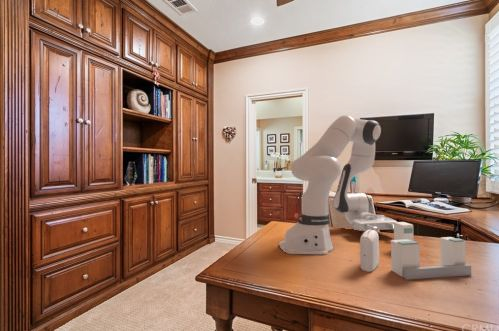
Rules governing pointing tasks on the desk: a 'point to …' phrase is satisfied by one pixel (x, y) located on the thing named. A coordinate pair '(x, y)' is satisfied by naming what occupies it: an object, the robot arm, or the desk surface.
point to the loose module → (403, 231)
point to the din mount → (408, 266)
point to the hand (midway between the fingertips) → (385, 228)
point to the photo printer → (369, 250)
